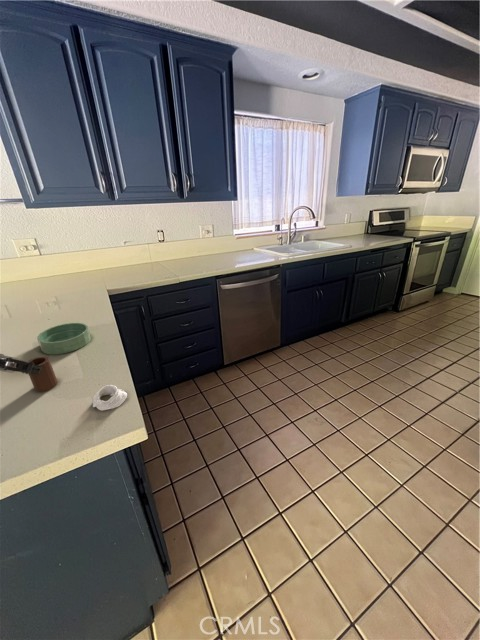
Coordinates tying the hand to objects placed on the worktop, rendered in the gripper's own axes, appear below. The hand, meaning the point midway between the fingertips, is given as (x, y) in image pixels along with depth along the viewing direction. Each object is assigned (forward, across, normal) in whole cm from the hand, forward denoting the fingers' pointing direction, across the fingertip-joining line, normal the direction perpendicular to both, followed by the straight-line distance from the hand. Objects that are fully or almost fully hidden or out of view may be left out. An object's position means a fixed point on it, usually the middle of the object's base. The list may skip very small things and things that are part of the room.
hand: (26, 368), depth 67 cm
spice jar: (+8, 0, +4) cm, 9 cm away
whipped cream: (+7, -22, +5) cm, 23 cm away
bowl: (+23, +13, -11) cm, 29 cm away
